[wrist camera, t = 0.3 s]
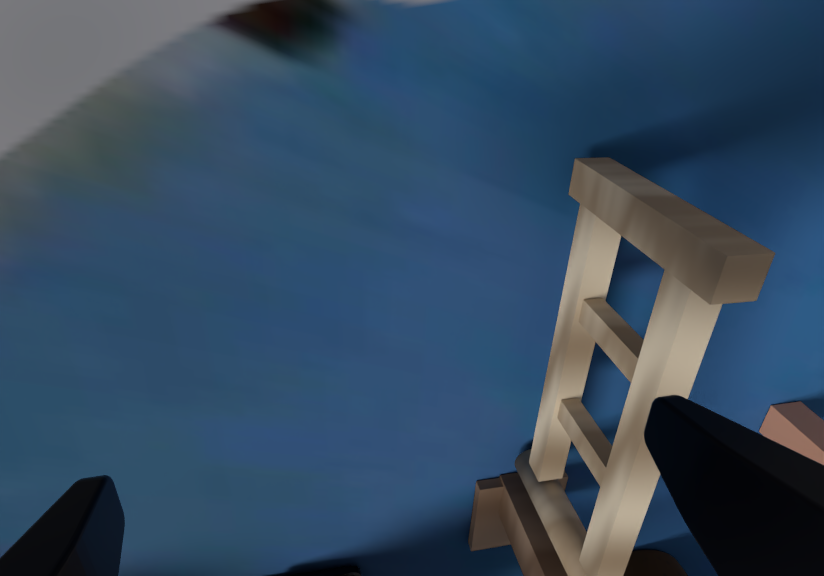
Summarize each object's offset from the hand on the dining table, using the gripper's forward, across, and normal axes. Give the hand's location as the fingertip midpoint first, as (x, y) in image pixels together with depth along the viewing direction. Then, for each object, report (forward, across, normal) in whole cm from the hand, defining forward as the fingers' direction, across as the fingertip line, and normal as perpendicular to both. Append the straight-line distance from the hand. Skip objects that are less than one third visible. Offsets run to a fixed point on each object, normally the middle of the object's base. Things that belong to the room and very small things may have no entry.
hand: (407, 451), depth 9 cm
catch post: (+13, -25, +15) cm, 32 cm away
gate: (+12, -9, +7) cm, 17 cm away
